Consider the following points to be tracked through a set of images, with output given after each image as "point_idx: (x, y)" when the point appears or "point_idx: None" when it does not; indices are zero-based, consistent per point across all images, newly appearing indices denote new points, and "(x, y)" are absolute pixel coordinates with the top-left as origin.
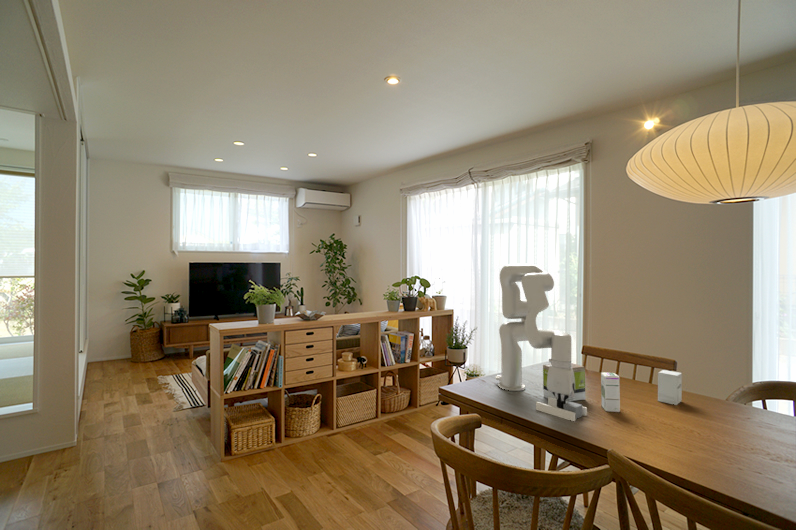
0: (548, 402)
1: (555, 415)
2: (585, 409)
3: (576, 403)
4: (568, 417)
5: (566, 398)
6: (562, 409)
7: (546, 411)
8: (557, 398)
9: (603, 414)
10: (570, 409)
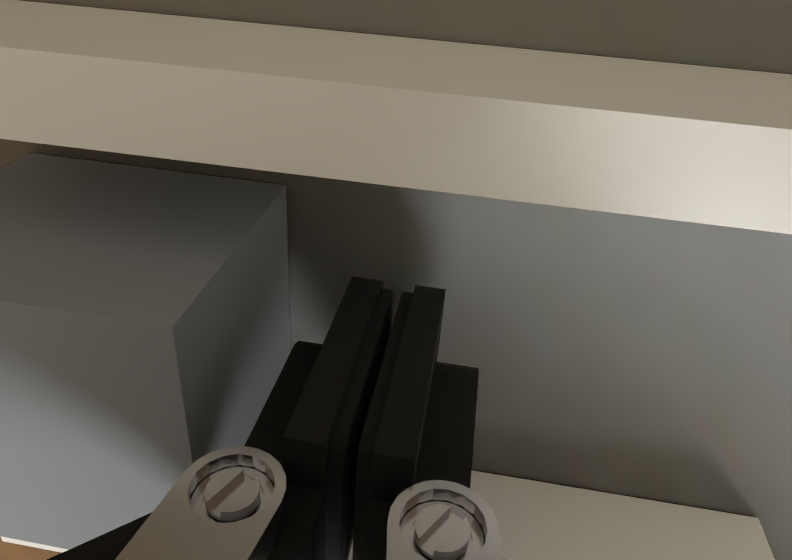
0: (765, 555)
1: (395, 40)
2: None
3: (46, 535)
4: (38, 14)
5: (79, 551)
6: (158, 126)
7: (659, 71)
8: (417, 517)
9: (8, 554)
10: (24, 246)
